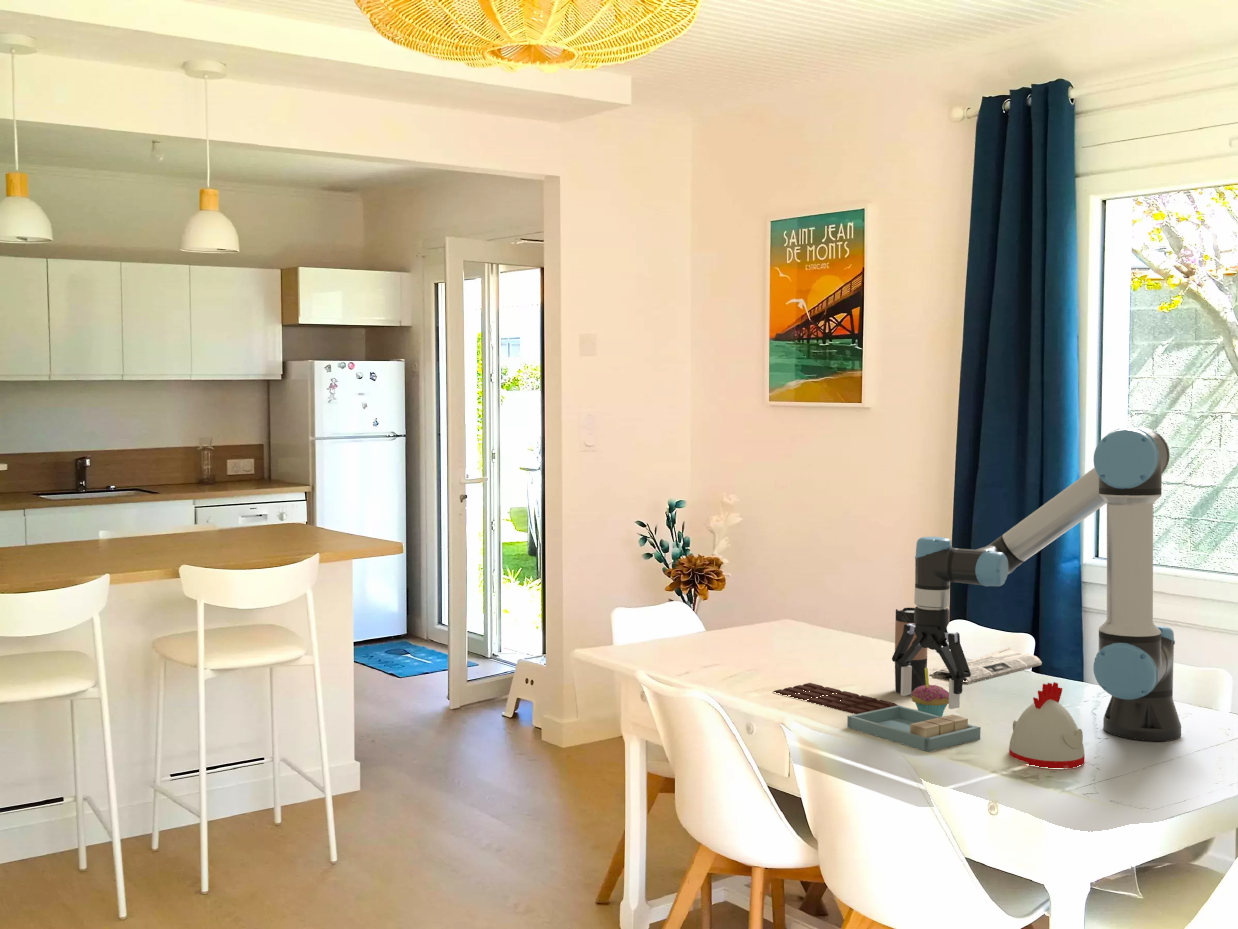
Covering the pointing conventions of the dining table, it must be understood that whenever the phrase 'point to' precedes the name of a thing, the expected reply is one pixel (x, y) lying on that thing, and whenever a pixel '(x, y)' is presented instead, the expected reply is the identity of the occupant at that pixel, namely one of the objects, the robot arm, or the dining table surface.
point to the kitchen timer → (1047, 733)
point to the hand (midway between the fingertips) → (929, 701)
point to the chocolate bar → (836, 698)
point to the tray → (908, 728)
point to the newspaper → (994, 665)
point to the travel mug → (919, 660)
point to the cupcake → (930, 697)
